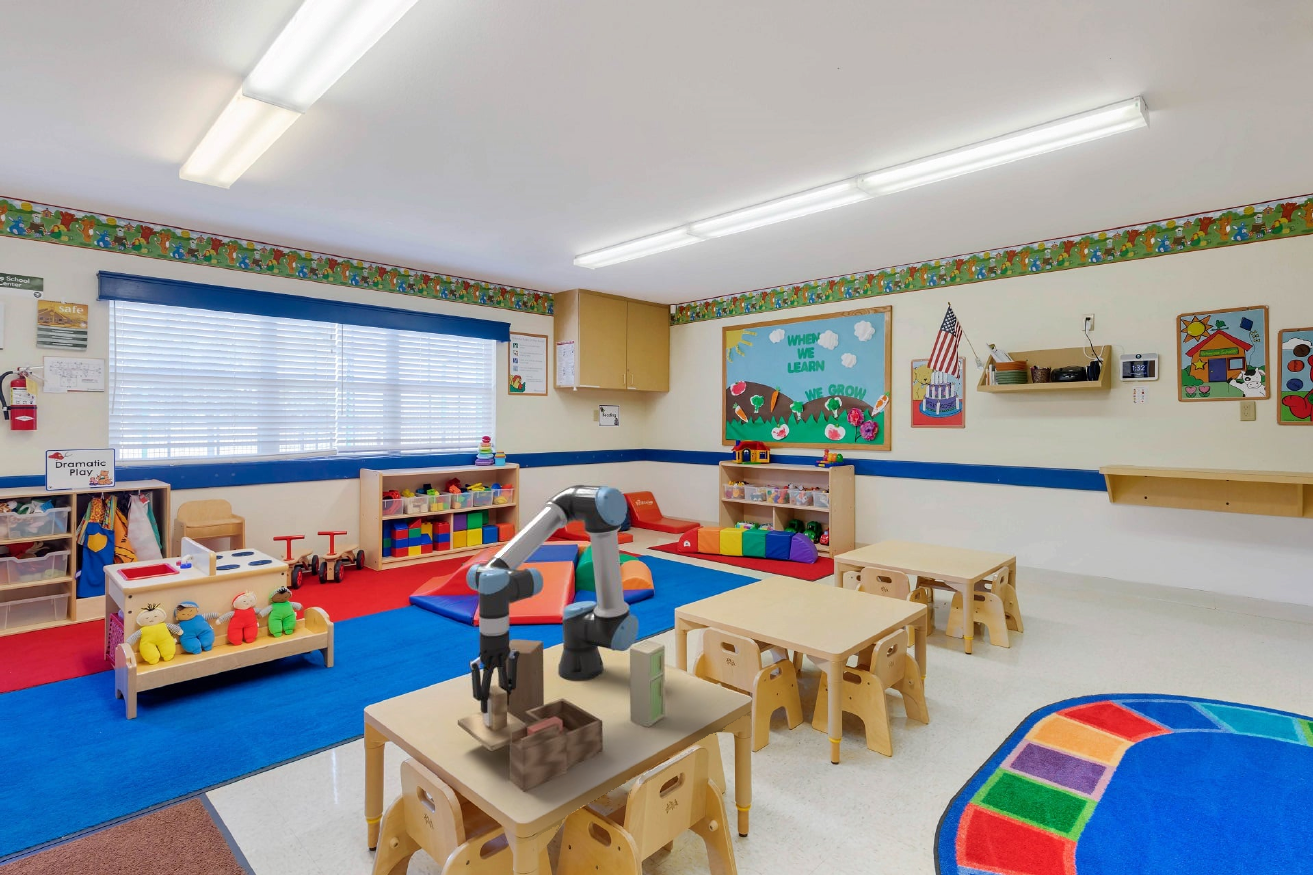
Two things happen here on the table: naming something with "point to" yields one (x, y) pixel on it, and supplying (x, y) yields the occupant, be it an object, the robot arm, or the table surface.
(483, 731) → the lid
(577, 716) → the brown wooden open box
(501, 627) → the robot arm
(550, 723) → the pink rectangular block
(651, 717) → the toy refrigerator
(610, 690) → the table surface
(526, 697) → the wooden block
